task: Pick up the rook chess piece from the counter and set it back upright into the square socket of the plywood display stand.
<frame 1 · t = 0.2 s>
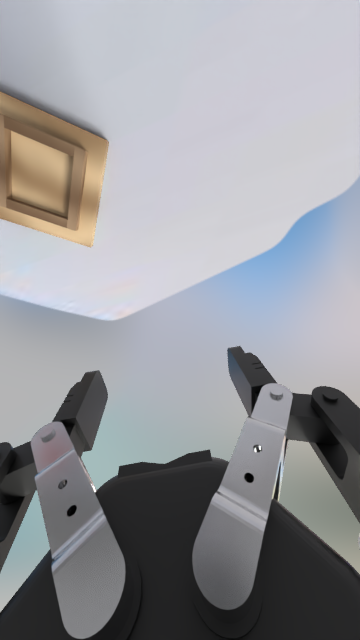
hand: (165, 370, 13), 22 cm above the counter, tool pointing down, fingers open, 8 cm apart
display stand: (48, 179, 25), on the counter
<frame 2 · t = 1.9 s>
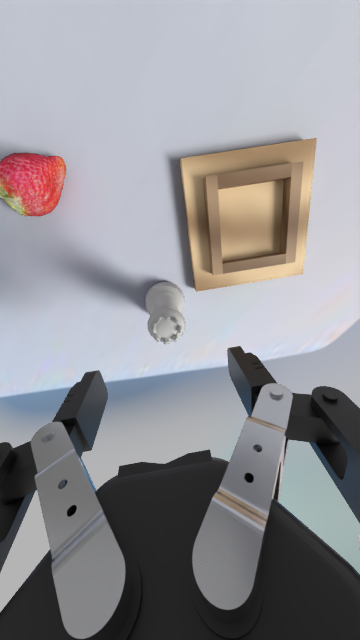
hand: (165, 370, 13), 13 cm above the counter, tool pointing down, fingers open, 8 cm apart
display stand: (245, 223, 22), on the counter
rook chess piece: (164, 299, 25), on the counter
fruit: (47, 188, 19), on the counter
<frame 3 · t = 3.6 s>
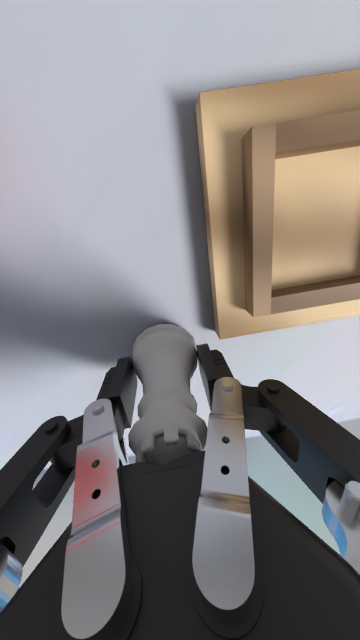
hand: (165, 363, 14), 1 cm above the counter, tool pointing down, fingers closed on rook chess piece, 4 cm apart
display stand: (306, 224, 13), on the counter
rook chess piece: (164, 347, 15), on the counter, touching gripper
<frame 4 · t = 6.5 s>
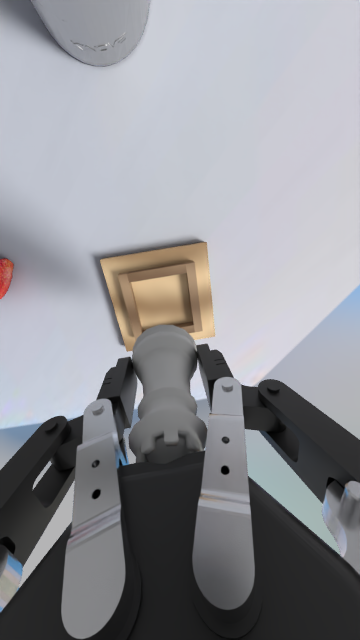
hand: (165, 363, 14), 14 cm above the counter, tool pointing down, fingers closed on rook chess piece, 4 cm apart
display stand: (163, 298, 27), on the counter
rook chess piece: (164, 348, 15), point 13 cm above the counter, touching gripper
fruit: (1, 276, 24), on the counter
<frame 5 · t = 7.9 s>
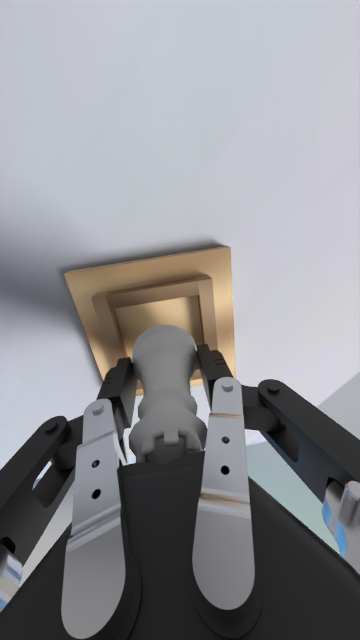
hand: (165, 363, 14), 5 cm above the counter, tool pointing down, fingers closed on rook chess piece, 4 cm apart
display stand: (162, 327, 19), on the counter
rook chess piece: (164, 348, 15), point 4 cm above the counter, touching gripper
when the fingers open (4 cm above the counter, at t = 9.0 s): rook chess piece drops 1 cm, resting on display stand.
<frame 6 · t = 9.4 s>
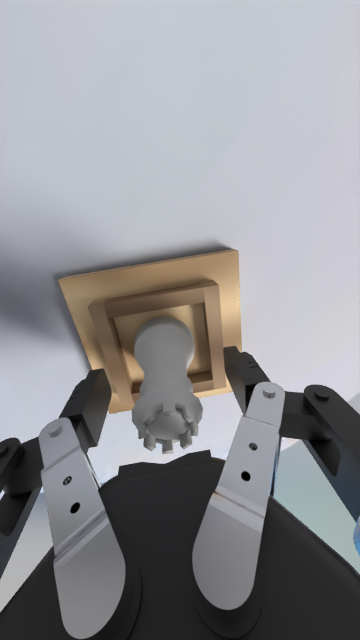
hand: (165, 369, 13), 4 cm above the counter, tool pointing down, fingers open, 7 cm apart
display stand: (164, 336, 17), on the counter
rook chess piece: (164, 339, 16), point 1 cm above the counter, touching display stand
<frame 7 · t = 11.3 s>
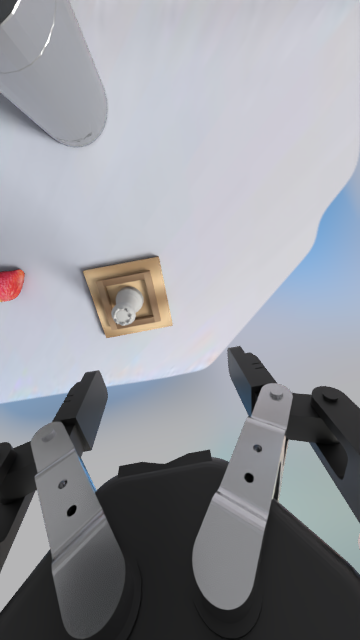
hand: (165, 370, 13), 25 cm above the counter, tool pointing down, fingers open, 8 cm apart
display stand: (131, 298, 36), on the counter
rook chess piece: (130, 298, 35), point 1 cm above the counter, touching display stand
fruit: (15, 281, 34), on the counter
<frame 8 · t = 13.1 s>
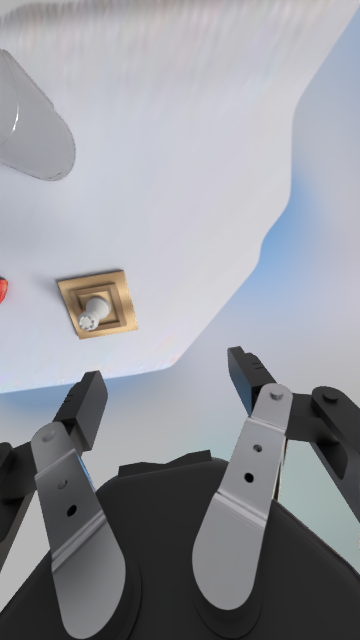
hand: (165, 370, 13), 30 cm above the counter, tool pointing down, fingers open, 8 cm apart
display stand: (101, 305, 42), on the counter
rook chess piece: (99, 306, 41), point 1 cm above the counter, touching display stand
fruit: (0, 289, 39), on the counter
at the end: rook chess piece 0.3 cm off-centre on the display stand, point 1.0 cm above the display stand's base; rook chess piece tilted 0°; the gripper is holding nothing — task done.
